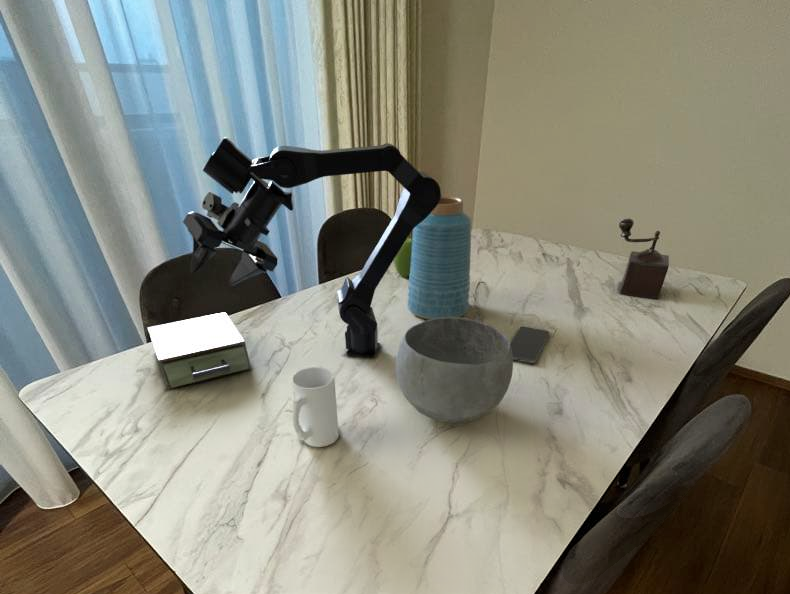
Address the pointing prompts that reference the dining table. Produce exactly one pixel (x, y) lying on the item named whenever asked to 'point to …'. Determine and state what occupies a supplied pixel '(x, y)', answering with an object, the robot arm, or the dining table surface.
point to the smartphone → (528, 344)
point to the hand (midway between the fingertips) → (211, 278)
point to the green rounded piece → (404, 258)
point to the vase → (441, 262)
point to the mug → (315, 406)
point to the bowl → (454, 368)
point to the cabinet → (194, 339)
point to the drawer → (206, 366)
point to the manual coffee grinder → (643, 267)
